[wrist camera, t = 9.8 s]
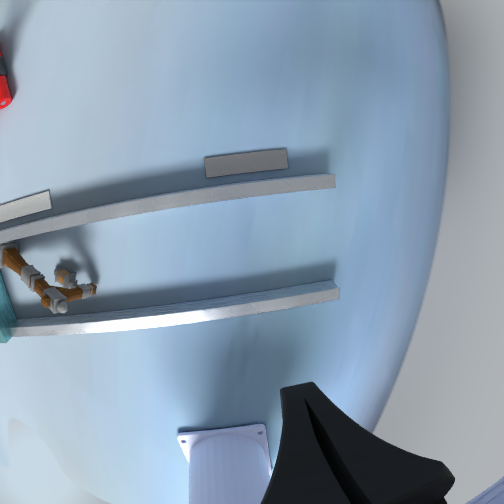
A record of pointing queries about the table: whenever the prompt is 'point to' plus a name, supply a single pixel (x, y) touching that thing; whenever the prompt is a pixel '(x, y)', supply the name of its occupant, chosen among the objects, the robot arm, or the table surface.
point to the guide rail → (3, 317)
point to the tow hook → (4, 86)
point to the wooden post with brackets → (50, 295)
